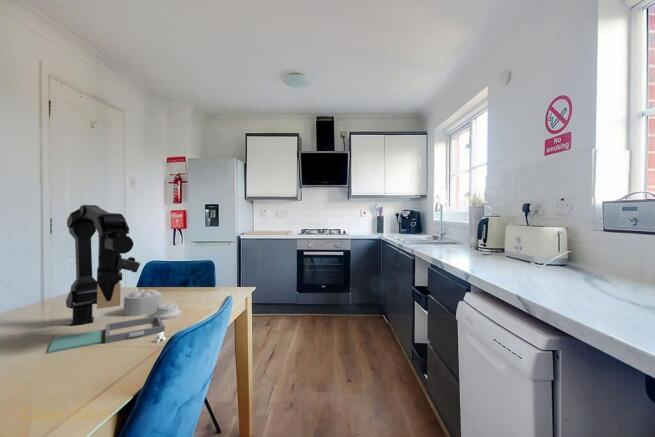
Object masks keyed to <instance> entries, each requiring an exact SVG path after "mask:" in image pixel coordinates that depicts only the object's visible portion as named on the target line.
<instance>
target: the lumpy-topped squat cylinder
mask: <svg viewBox="0 0 655 437" xmlns="http://www.w3.org/2000/svg"><path fill="white" fill-rule="evenodd" d="M161 304H163V293H162V292H160V291H158V290H157V289H154V288H153V289H152V288H151V289H147V290H146V289H139V290H137V291H132V292H130V293H129V294H128V295H125V296H124V297H123V316H125V317H141V316H140V315H142V316H147V314H148V315H153V314H154V313H155V312H157V306H158V305H161Z"/></svg>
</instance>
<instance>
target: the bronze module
mask: <svg viewBox="0 0 655 437" xmlns="http://www.w3.org/2000/svg"><path fill="white" fill-rule="evenodd" d="M121 285H122V284H121V281H120V282H118V283H117V284H116V285H115V287H114V291H113V295H112V298H111V301H106V299H105V297H104V295H103V293H102V291H101V289H100V287H99V285H98V284H97V304H96V309H105V308H106V309H107V308H115V307H120V306H121V288H122V287H121Z"/></svg>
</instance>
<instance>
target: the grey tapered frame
mask: <svg viewBox="0 0 655 437" xmlns="http://www.w3.org/2000/svg"><path fill="white" fill-rule="evenodd" d="M153 323H156V324H157V326H152V327H148V328H147V327H146V328H141V329H136V330H131V331H125V332H120V333H119V332H118V333H114V334H110V333H111V332H110V331H112V330H119V329H124V328H129V327H136V326H141V325H149V324H153ZM165 328H166V327H165V324H164V322H163V319H161V318H160V316H154V317H153V316H150V317H149V316H147V317H142V318H137V319H136V318H135V319H129V320H124V321H123V320H122V321H118V322H111V323H106V324H105V339H104V340H105V344H108V343H114V342H120V341H125V340H130V339H137V338H141V337H146V336H151V335H157V334H159V333H161V332H164V333H165V330H166V329H165Z"/></svg>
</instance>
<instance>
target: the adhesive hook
mask: <svg viewBox="0 0 655 437" xmlns="http://www.w3.org/2000/svg"><path fill="white" fill-rule="evenodd" d="M156 335H157V336H156V337H154V340H153V343H157V344H158V343H160V342H161V341H163V342H164V341H166V337H165V332H161V333H157V334H156Z"/></svg>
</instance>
